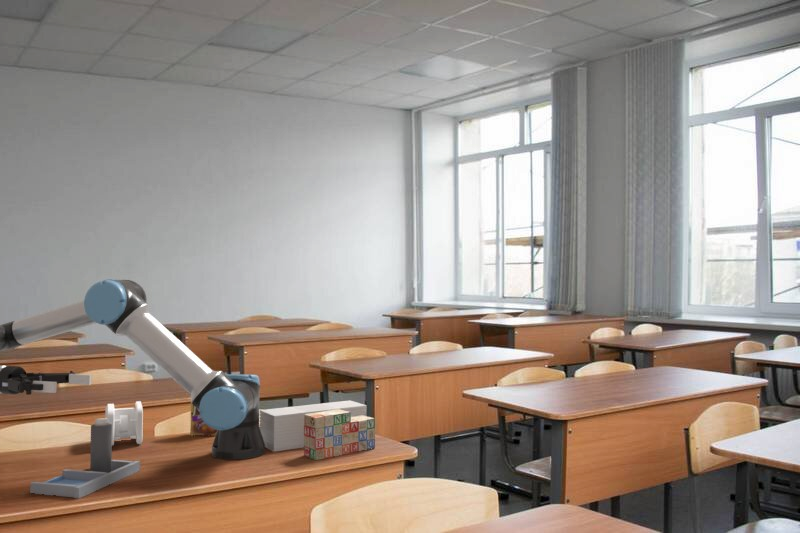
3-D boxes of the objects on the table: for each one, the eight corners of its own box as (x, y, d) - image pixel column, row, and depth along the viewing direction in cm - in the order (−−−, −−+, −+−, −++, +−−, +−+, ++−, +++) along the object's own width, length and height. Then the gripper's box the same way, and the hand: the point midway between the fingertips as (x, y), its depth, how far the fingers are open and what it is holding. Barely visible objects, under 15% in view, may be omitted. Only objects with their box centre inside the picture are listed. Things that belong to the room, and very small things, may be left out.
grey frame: (139, 470, 188) (139, 461, 188) (78, 498, 164) (78, 487, 164) (93, 467, 191) (93, 457, 191) (26, 493, 168) (26, 483, 168)
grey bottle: (115, 473, 185) (115, 418, 185) (103, 479, 180) (103, 421, 180) (98, 472, 186) (99, 417, 186) (85, 477, 181) (86, 420, 181)
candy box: (189, 436, 227) (190, 389, 228) (192, 433, 232) (192, 386, 232) (218, 436, 228) (218, 388, 229) (220, 433, 233) (220, 386, 233)
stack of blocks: (362, 445, 218) (363, 405, 218) (375, 449, 214) (375, 408, 214) (303, 456, 205) (303, 413, 205) (315, 460, 200) (315, 417, 200)
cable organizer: (142, 446, 214) (143, 408, 214) (105, 450, 210) (105, 410, 210) (140, 436, 228) (141, 400, 228) (105, 439, 224) (105, 402, 224)
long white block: (349, 432, 236) (349, 400, 236) (366, 438, 227) (366, 405, 227) (259, 445, 218) (259, 410, 218) (273, 452, 209) (274, 415, 209)
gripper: (38, 386, 204) (103, 390, 200) (-33, 401, 180) (39, 406, 175) (39, 360, 204) (103, 363, 200) (-32, 371, 180) (39, 375, 175)
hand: (73, 383), depth 187 cm, fingers open, 13 cm apart
